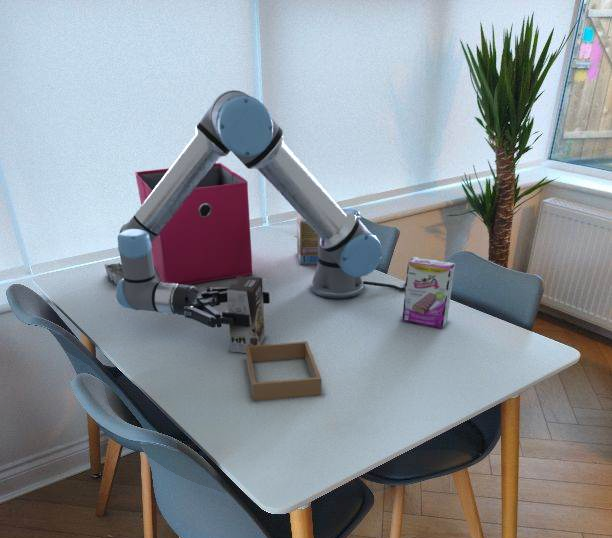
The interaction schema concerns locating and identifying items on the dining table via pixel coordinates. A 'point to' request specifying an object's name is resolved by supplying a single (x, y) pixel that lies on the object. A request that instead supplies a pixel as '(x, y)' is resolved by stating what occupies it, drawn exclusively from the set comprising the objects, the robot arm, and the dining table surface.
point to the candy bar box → (428, 292)
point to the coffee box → (246, 312)
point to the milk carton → (306, 242)
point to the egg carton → (115, 272)
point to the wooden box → (283, 386)
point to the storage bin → (203, 229)
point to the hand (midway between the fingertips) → (259, 309)
